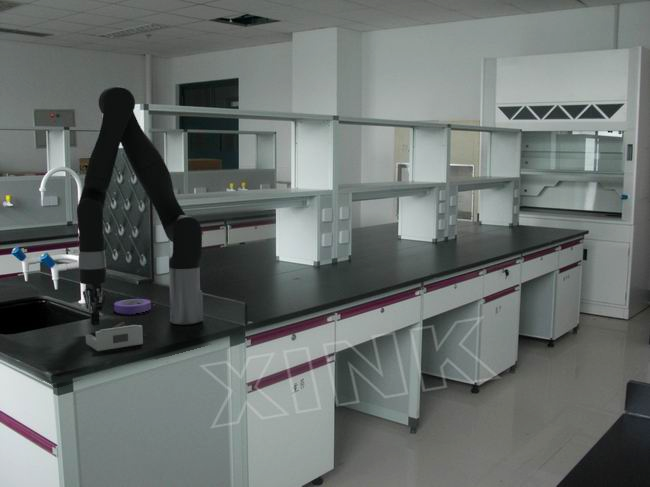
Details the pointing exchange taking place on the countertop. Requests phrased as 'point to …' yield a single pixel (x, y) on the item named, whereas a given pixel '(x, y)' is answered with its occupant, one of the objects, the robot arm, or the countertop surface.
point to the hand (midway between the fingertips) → (95, 324)
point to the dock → (116, 337)
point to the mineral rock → (120, 325)
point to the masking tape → (132, 306)
